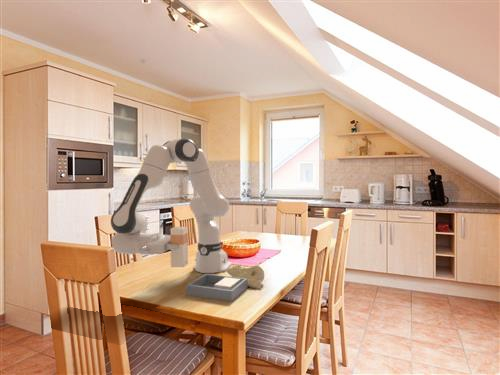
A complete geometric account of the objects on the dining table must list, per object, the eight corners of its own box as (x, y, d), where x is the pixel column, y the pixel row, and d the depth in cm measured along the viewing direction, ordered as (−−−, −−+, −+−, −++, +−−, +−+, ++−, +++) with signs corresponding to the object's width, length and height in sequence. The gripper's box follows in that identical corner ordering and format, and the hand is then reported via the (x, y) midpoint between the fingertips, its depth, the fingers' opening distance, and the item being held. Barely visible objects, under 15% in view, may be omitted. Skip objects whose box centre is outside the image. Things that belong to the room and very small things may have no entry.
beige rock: (271, 291, 138) (257, 263, 148) (270, 283, 133) (256, 255, 143) (238, 305, 135) (227, 276, 145) (237, 297, 130) (225, 267, 140)
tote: (206, 284, 141) (206, 273, 141) (247, 290, 134) (247, 278, 134) (186, 297, 126) (186, 285, 126) (231, 304, 119) (231, 291, 119)
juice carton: (175, 263, 137) (174, 226, 136) (187, 263, 136) (187, 226, 136) (170, 266, 131) (170, 228, 131) (183, 267, 131) (183, 228, 130)
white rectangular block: (225, 287, 134) (225, 277, 134) (240, 289, 132) (240, 279, 132) (214, 295, 125) (214, 284, 125) (230, 298, 122) (230, 286, 122)
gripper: (138, 241, 124) (172, 242, 123) (159, 232, 145) (188, 233, 143) (139, 257, 125) (172, 258, 123) (159, 246, 145) (188, 246, 143)
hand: (181, 244), depth 133 cm, fingers closed on juice carton, 6 cm apart
